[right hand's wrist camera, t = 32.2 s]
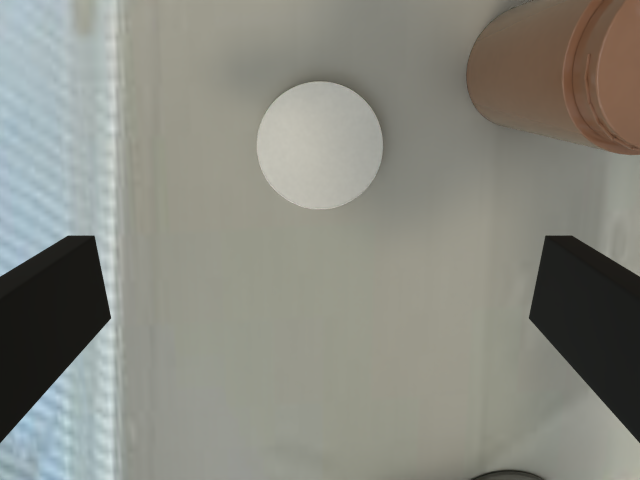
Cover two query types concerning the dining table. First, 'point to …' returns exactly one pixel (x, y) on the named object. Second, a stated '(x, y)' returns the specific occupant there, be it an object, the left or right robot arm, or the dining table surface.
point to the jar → (563, 72)
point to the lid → (319, 145)
